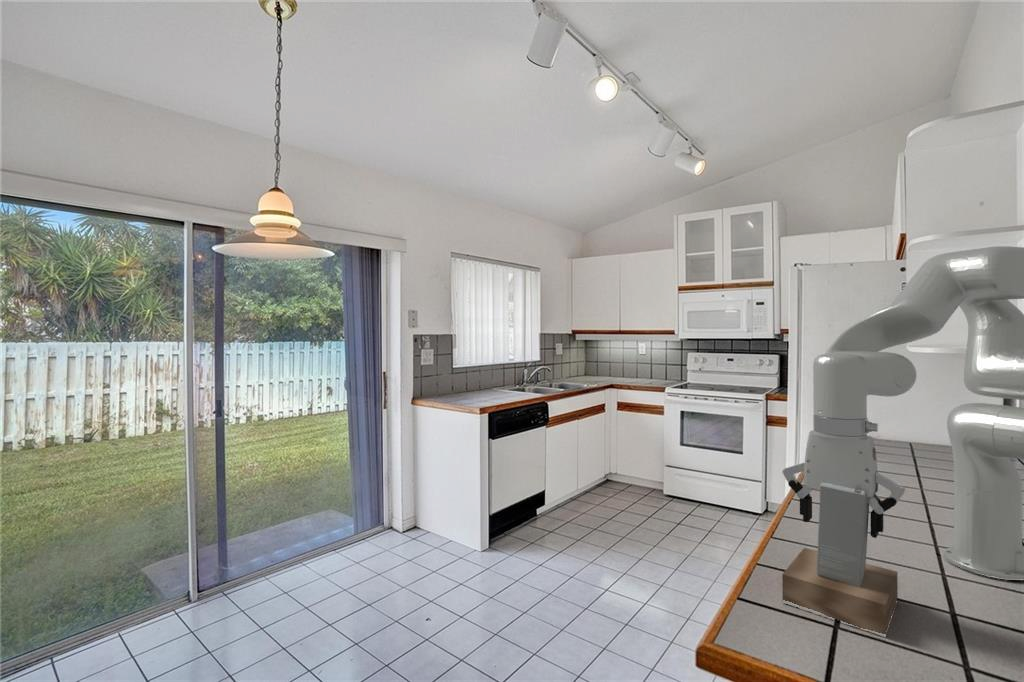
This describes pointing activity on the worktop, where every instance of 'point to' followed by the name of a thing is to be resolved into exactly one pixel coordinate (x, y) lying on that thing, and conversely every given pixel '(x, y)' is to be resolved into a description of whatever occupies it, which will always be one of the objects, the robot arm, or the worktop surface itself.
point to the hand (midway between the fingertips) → (839, 527)
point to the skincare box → (842, 533)
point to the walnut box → (842, 593)
